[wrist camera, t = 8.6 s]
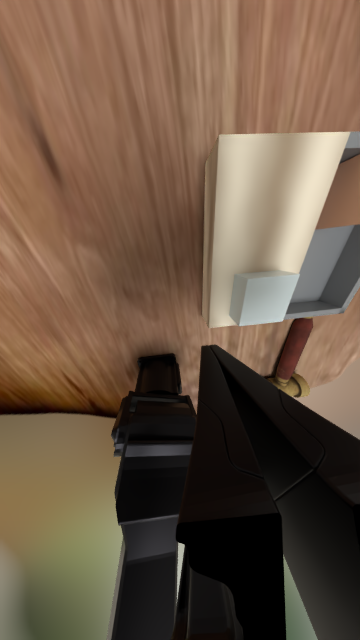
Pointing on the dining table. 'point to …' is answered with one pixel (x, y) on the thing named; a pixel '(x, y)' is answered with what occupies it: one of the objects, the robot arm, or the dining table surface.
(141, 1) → the dining table surface
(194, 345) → the dining table surface
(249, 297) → the grey sharp-edged block
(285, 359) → the gavel
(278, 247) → the board
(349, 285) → the tray
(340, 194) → the tile terracotta
